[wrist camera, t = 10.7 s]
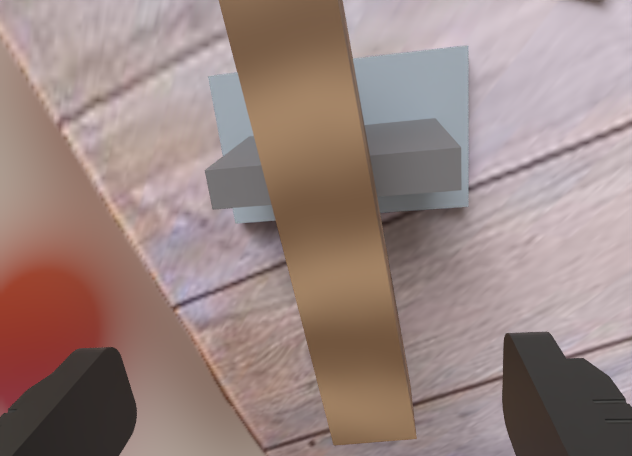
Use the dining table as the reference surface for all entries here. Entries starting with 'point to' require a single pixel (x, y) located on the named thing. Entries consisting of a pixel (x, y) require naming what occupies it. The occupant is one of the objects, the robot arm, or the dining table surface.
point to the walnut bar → (325, 208)
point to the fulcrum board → (377, 103)
